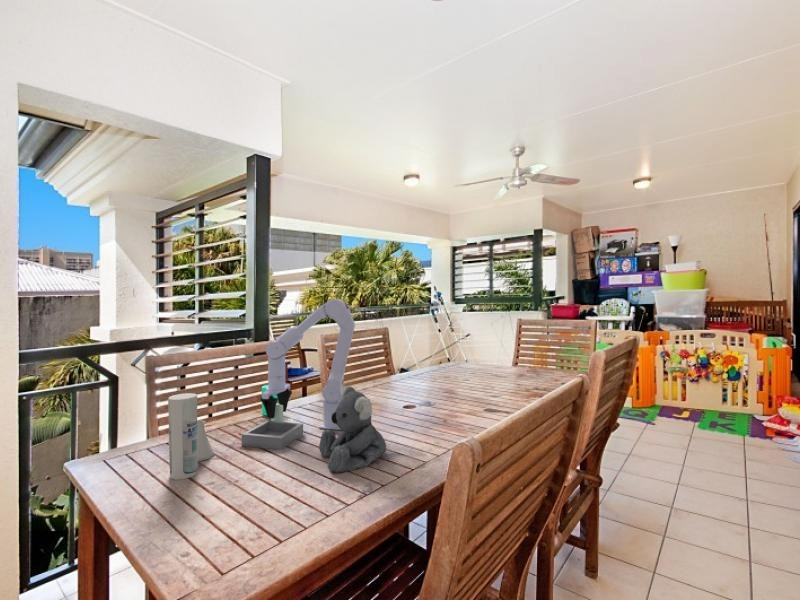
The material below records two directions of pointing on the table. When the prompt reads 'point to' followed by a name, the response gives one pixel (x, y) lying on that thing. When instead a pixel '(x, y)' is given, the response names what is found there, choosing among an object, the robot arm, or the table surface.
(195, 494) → the table surface
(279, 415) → the cylinder
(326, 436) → the koala plush
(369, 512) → the table surface
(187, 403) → the spray can
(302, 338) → the robot arm
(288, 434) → the bin
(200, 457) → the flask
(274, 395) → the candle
